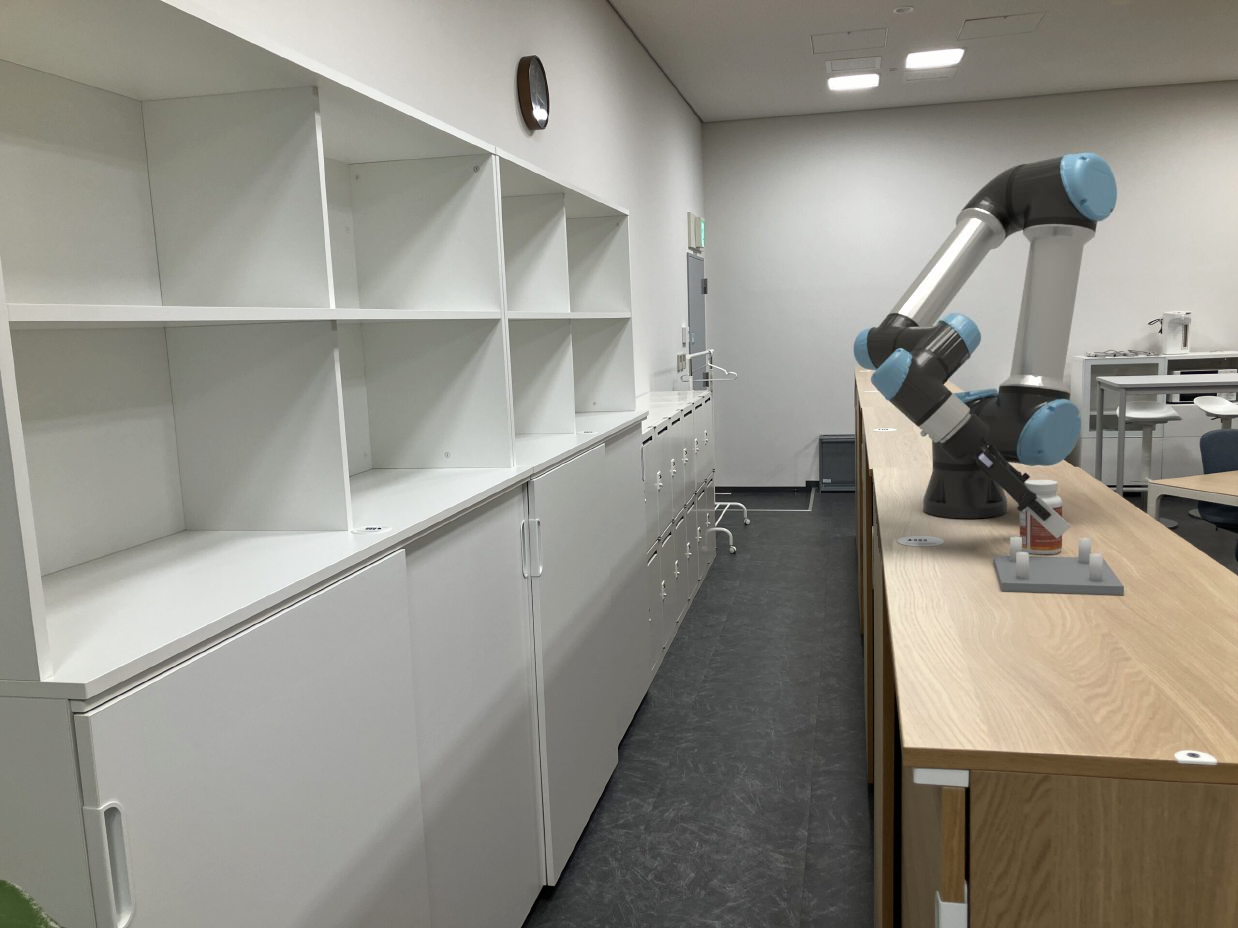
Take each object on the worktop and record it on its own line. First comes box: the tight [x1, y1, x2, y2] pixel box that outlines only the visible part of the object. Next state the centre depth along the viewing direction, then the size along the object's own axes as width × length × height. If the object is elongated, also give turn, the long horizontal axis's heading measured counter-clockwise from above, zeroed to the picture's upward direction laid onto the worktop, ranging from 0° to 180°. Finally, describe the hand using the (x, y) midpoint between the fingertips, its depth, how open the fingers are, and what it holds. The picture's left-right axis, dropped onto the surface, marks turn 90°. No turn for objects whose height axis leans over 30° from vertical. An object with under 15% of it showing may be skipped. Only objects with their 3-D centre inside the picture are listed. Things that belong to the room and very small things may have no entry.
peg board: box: [993, 536, 1125, 596], centre depth 132 cm, size 15×15×5 cm
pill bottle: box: [1019, 479, 1063, 555], centre depth 147 cm, size 6×6×11 cm
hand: (1058, 522), depth 146 cm, fingers open, 12 cm apart
